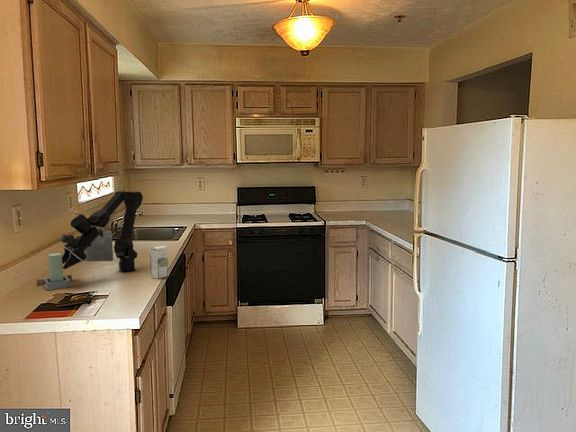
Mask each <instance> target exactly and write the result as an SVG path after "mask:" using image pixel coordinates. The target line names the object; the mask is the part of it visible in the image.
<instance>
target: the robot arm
mask: <svg viewBox="0 0 576 432" xmlns="http://www.w3.org/2000/svg"><path fill="white" fill-rule="evenodd" d="M143 196H144V195H143V194H142V192H141V191H134V190H132V191H131V190H128V191H125V190H117V191H115V193H114V195H113V196H112V197H111V198H110V199H109V200H108V201H107V203H105V204H104V206H103V207H102V208H101V209H99V210H97V211H95V212H93V213H91V214H90V216H89V217H88V218H87V217H86V216H85V215H84V214H82V213H79V214H78V215H77V216H75V217H73V219H71V222H70V226H71V227H72V228H73V229H74V230H75V231H77V232H78V233H79V234H80V235H77V236H76V237H75V236H74V235H73V234H64V233H63V234H62V236H61V238H60V242H61V243H64V244H63V254H62V266H63V270H67V269H69V268H71V267H72V266H73V267H74V266H75V265H76V264H79V263H82V262H84V261H86V258H87V255H86V254H85V250H86V249H87V248H88V247H90V246H91V243H92V242H93V241H94V240H95V239H96V238H97V237H98V236H99V235H100V236H101V237H103V231H102V229H101V230H98V229H97V228H96V227H101V228H105V227H107V226H108V224H109V222H110V220H111V219H110V218H111V215H112V214H113V213H114V212H115V211H116V210H117V209H118V208H119V206H121V204H122V203H123V204H124V206H125V213H124V216H123V217H124V218H123V221H122V222H123V223H122V227H121V233H120V237H119V238H118V239H115V240H114V246H112V247H113V253H115V256H116V258H117V259H119V261H118V271H120V272H122V273H127V272H133V271H135V272H136V270H137V269H136V267H135V264H136V263H135V259H137V258H138V252H137V251H136V250H135V249H134V242H133V239H132V236H133V231H134V226H135V220H136V216H137V210H138V209H139V208H140V206H141V205H142V202H143V198H144V197H143Z"/></svg>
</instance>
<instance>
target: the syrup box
mask: <svg viewBox="0 0 576 432" xmlns="http://www.w3.org/2000/svg"><path fill="white" fill-rule="evenodd" d="M168 254H169V253H168V246H166V245H163V244H160V245H154V246H150V247H149V260H150V261H149V263H150V264H149V265H150V269H149V270H150V277H151V278H153V279H157V280H159V279H165V278H167V277H169V266H168V265H169V263H168V261H169V259H168V258H169V257H168Z"/></svg>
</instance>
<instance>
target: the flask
mask: <svg viewBox="0 0 576 432" xmlns="http://www.w3.org/2000/svg"><path fill="white" fill-rule="evenodd" d="M96 228H97V229H98V230H102V227H96ZM102 231H103V237H101V236H100V235H99V236H98V237H97V238H96V239H95V240H94V241H93V242H92V243H91V246H90V247H88V248H87V249H86V250H85V251H84V252H85V254H86V255H87V258H86V259H85V261H86V262H112V260H113V261H114V254H113V253H114V248H113V247H114V246H113V231H112V230H102Z"/></svg>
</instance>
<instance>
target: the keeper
mask: <svg viewBox="0 0 576 432" xmlns="http://www.w3.org/2000/svg"><path fill="white" fill-rule="evenodd" d="M46 278H47V279H43V280H44V285H43V286H44V289H46V290H47V291H53V290H60V289H65V288H71V281H70V279H69V278H67V277H66V276H64V275H63V281H57V282H50V277H46Z"/></svg>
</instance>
